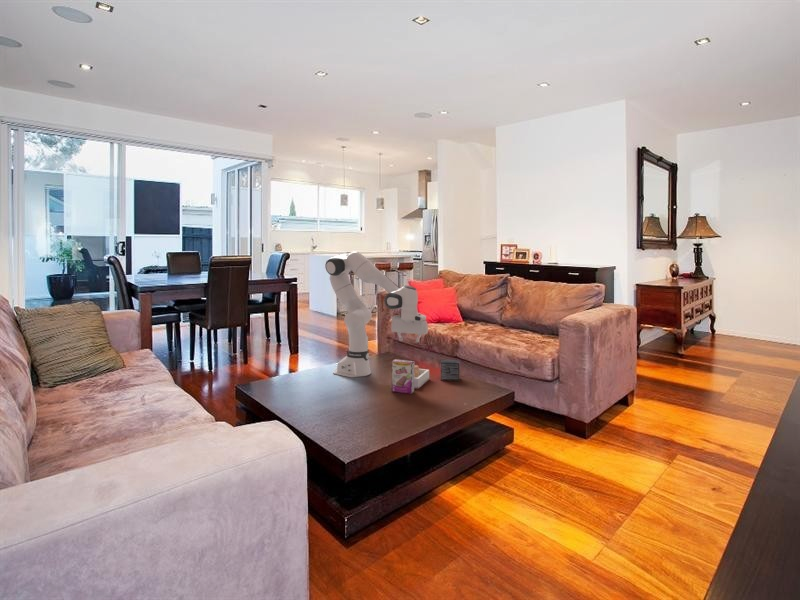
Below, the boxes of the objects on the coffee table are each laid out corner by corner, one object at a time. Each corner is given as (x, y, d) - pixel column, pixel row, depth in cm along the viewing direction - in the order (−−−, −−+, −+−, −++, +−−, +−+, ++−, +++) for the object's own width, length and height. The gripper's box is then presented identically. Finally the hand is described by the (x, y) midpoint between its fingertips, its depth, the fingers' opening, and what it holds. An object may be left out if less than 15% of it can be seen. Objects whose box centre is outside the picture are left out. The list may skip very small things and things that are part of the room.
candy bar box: (391, 392, 235) (391, 361, 233) (394, 389, 240) (394, 358, 238) (411, 394, 231) (411, 363, 229) (414, 391, 236) (414, 360, 234)
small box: (459, 377, 261) (459, 360, 259) (459, 381, 254) (459, 362, 253) (440, 377, 262) (440, 359, 260) (440, 380, 255) (440, 362, 254)
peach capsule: (408, 378, 255) (408, 366, 254) (413, 376, 259) (412, 364, 258) (415, 380, 252) (415, 368, 251) (420, 378, 256) (420, 366, 255)
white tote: (393, 385, 246) (393, 375, 245) (405, 376, 263) (405, 367, 262) (418, 388, 240) (418, 378, 240) (429, 379, 257) (429, 369, 257)
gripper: (389, 315, 244) (389, 340, 245) (425, 318, 236) (425, 344, 238) (393, 314, 250) (393, 338, 251) (429, 316, 242) (428, 341, 244)
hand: (409, 341), depth 244 cm, fingers open, 8 cm apart
